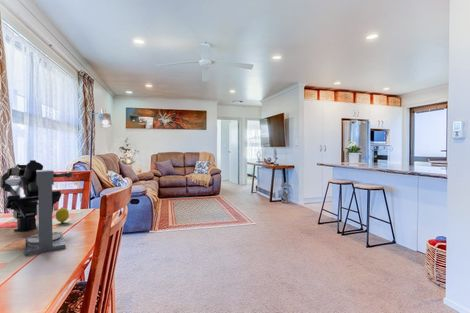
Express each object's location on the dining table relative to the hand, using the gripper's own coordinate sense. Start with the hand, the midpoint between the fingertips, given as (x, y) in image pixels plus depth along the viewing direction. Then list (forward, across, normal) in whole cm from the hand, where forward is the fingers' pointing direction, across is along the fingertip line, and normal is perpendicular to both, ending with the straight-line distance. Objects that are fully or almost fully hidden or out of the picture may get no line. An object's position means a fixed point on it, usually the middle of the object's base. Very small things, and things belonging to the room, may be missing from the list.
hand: (39, 215), depth 108 cm
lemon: (-5, +14, +20) cm, 25 cm away
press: (+15, 0, -1) cm, 15 cm away
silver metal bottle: (+10, 0, 0) cm, 10 cm away
